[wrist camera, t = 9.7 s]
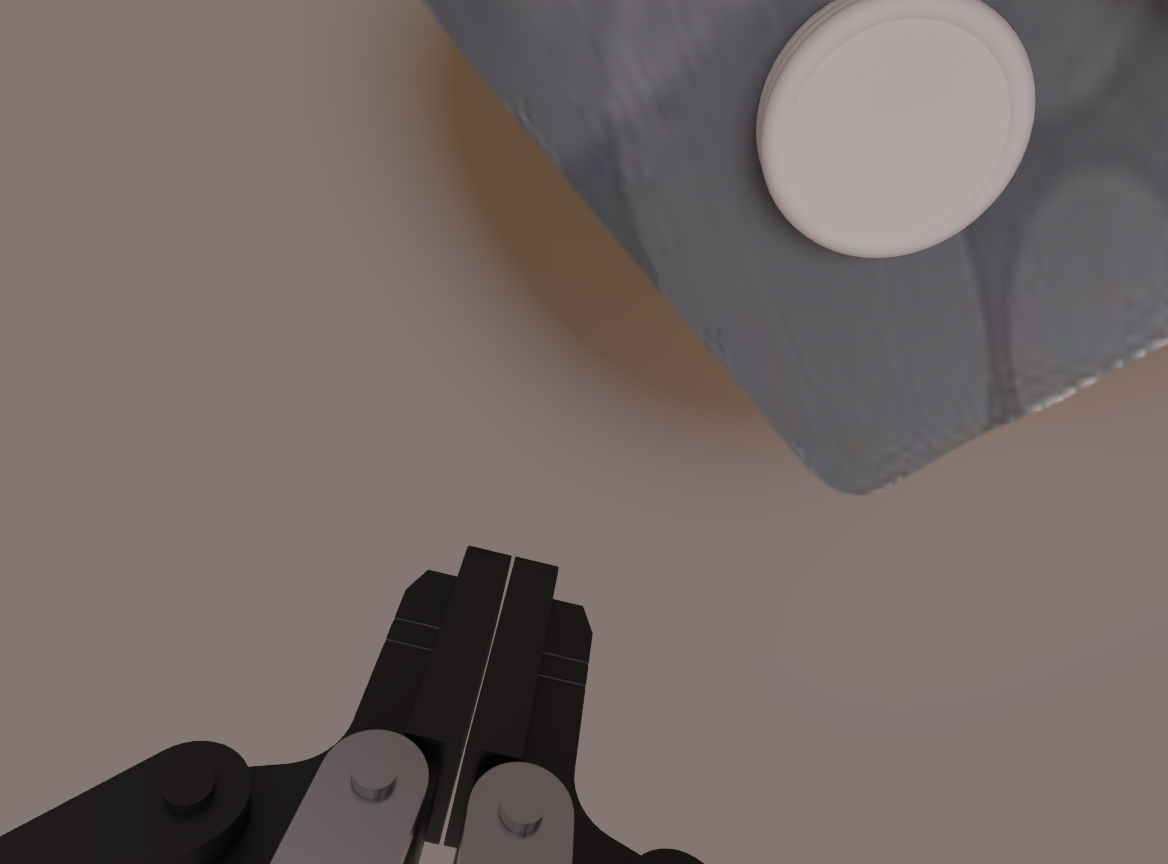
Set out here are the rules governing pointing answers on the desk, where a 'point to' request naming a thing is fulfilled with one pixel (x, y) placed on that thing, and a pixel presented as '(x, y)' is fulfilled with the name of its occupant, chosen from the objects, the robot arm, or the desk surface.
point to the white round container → (894, 122)
